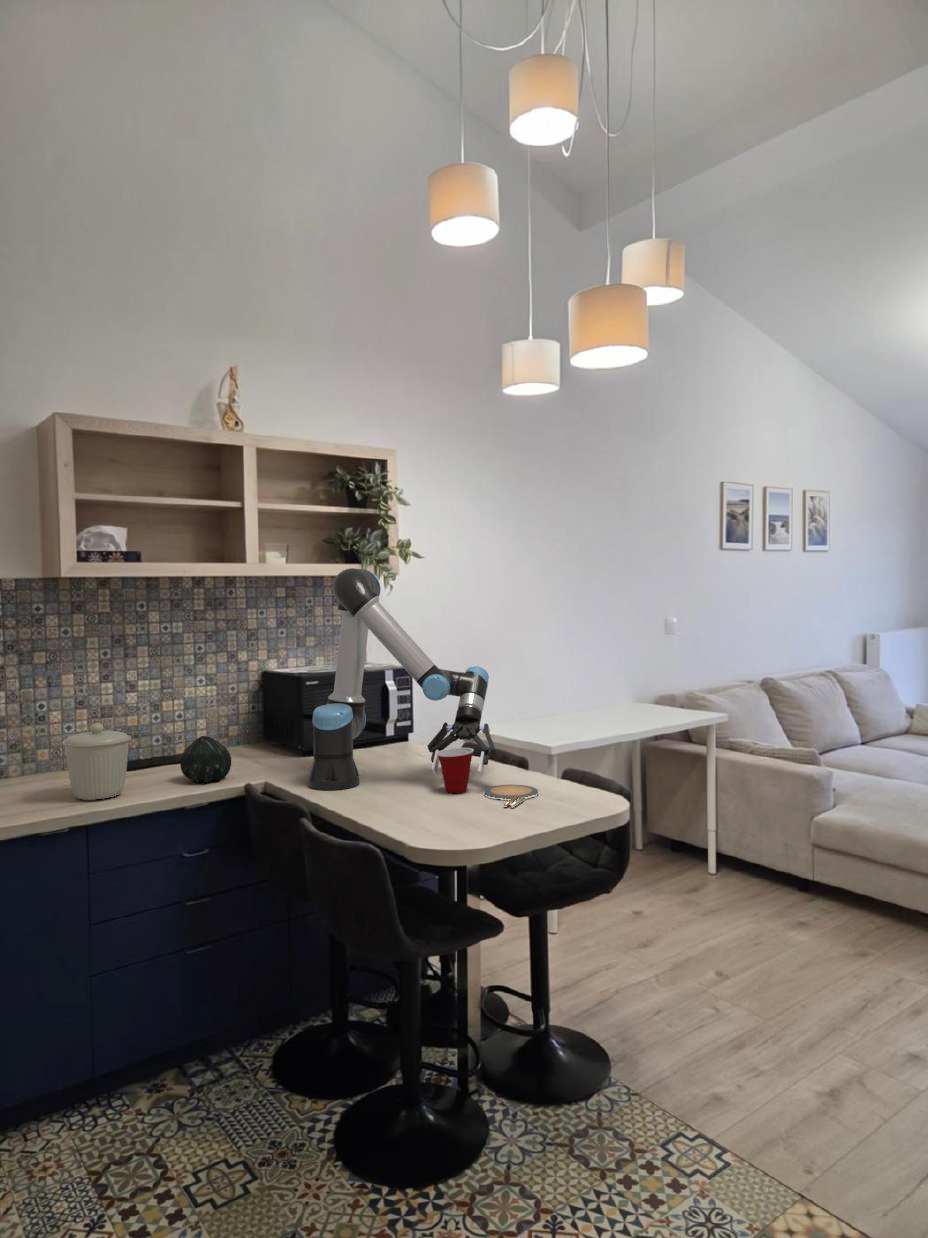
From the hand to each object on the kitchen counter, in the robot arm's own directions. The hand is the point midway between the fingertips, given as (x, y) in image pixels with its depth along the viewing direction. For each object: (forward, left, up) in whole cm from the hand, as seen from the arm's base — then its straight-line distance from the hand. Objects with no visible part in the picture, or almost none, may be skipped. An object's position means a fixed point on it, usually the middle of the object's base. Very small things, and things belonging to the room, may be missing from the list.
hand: (456, 772), depth 240 cm
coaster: (+8, -13, -6) cm, 16 cm away
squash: (-39, +70, -6) cm, 80 cm away
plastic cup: (0, +1, -6) cm, 6 cm away
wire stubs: (0, -21, -6) cm, 22 cm away
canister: (-70, +75, -6) cm, 103 cm away
